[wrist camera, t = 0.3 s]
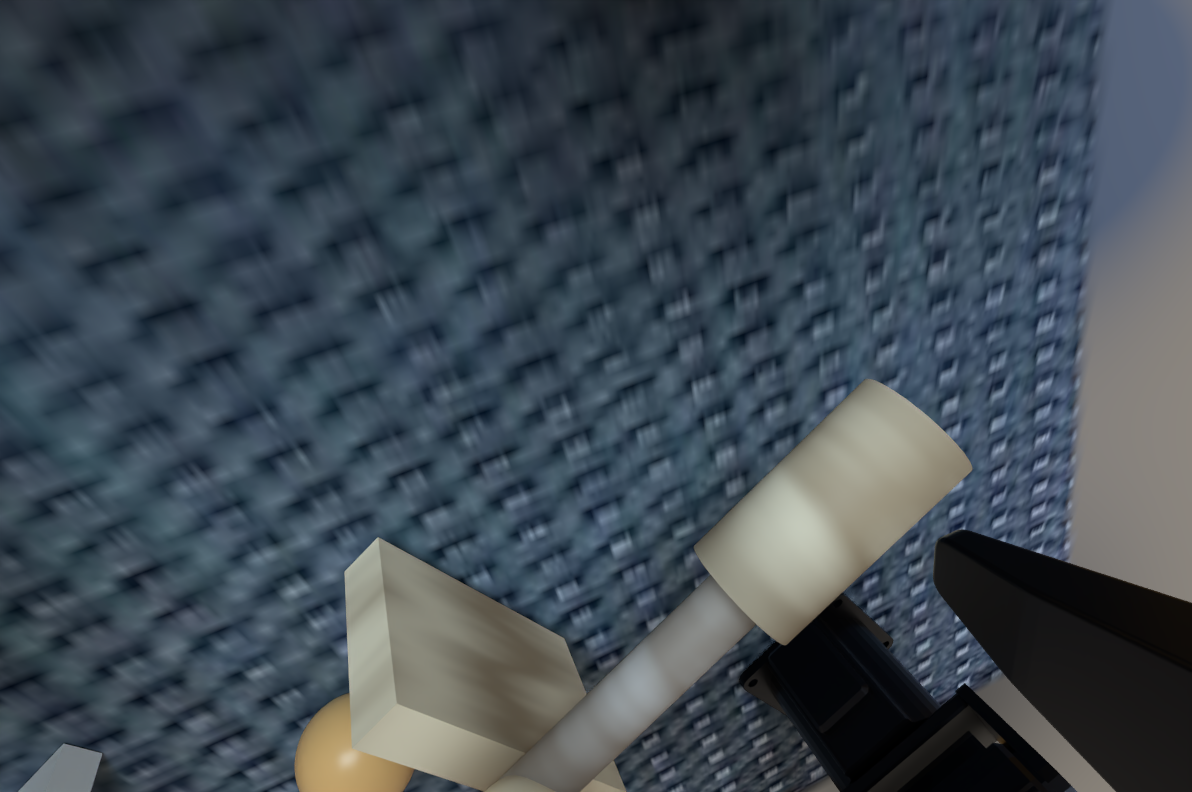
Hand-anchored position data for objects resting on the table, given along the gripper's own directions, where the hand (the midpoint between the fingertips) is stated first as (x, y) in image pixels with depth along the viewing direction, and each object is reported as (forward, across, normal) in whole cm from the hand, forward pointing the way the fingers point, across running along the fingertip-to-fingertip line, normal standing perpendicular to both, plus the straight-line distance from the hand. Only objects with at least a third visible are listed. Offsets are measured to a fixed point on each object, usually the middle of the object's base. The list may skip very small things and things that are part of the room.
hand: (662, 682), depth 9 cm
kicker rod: (+13, -2, +6) cm, 14 cm away
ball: (+11, +8, +12) cm, 19 cm away
